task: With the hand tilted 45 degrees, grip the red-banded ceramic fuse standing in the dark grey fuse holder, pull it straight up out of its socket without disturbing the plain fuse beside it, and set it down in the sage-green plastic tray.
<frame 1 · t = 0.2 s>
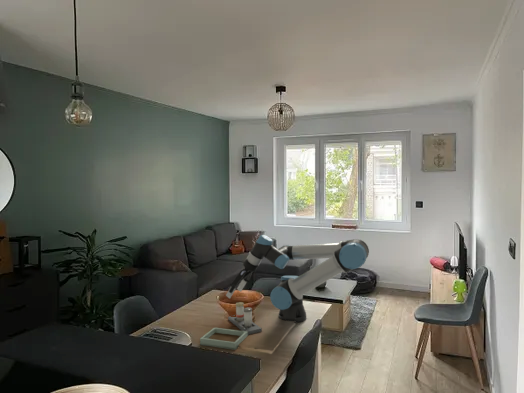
hand: (233, 293, 210), 15 cm above the table, tool tilted 35°, fingers open, 13 cm apart
marked fuse: (240, 322, 206), point 1 cm above the table, touching fuse holder
plain fuse: (248, 328, 197), point 1 cm above the table, touching fuse holder
tray: (224, 341, 184), on the table
fuse holder: (244, 327, 201), on the table
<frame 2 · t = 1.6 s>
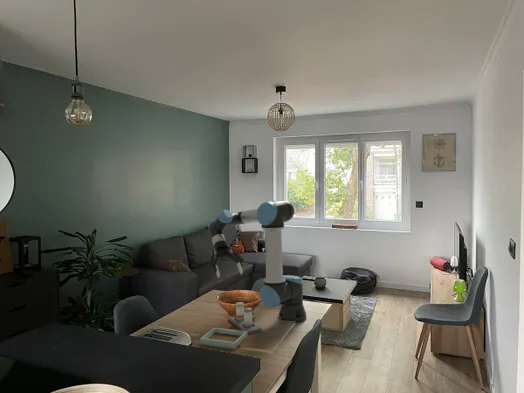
hand: (230, 274, 214), 24 cm above the table, tool tilted 45°, fingers open, 13 cm apart
nothing on the table moved.
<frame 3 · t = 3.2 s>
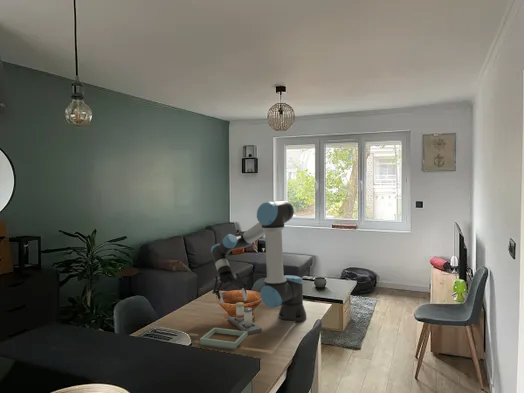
hand: (234, 301, 210), 11 cm above the table, tool tilted 45°, fingers open, 13 cm apart
nothing on the table moved.
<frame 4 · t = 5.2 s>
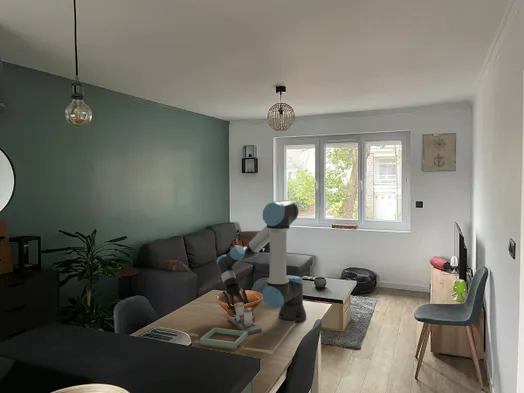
hand: (243, 319, 202), 4 cm above the table, tool tilted 45°, fingers closed on fuse holder, marked fuse, 4 cm apart
marked fuse: (240, 322, 206), point 1 cm above the table, touching fuse holder, gripper
everything else where it was.
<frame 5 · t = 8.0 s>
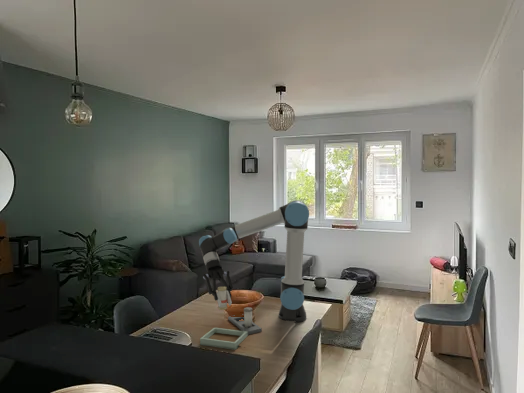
hand: (225, 304, 180), 18 cm above the table, tool tilted 45°, fingers closed on marked fuse, 4 cm apart
marked fuse: (222, 308, 184), point 16 cm above the table, touching gripper
everything else where it was.
when the fingers open (5 cm above the table, at t = 10.8 s): marked fuse drops 1 cm, resting on tray.
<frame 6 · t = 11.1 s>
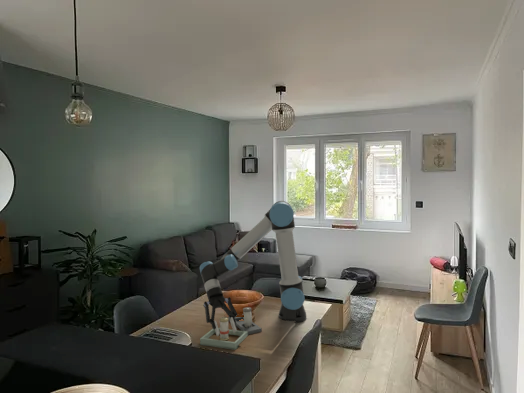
hand: (226, 333, 181), 5 cm above the table, tool tilted 45°, fingers open, 8 cm apart
marked fuse: (224, 339, 184), point 1 cm above the table, touching tray
everything else where it was.
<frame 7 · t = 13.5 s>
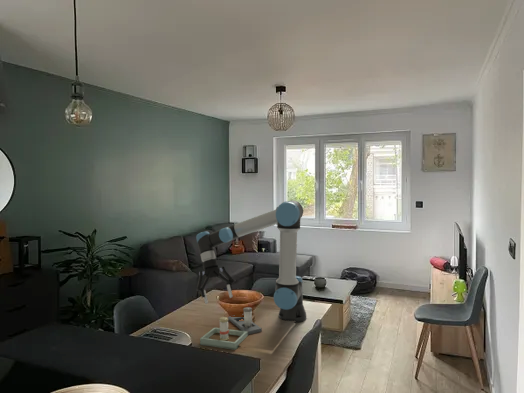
hand: (219, 300, 199), 15 cm above the table, tool tilted 25°, fingers open, 13 cm apart
nothing on the table moved.
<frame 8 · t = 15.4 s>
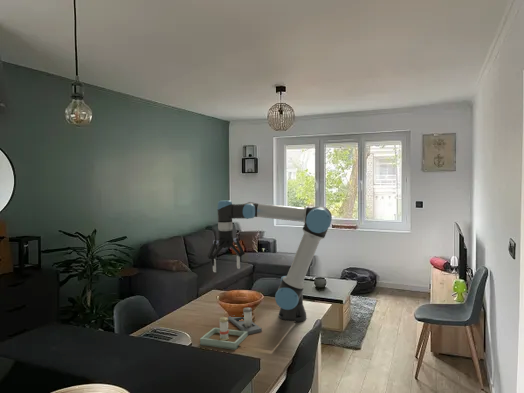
hand: (226, 270, 205), 29 cm above the table, tool pointing down, fingers open, 13 cm apart
nothing on the table moved.
at the end: marked fuse inside the target area on the tray (0.1 cm from its centre), point 0.8 cm above the tray's base; plain fuse moved 0.1 cm from its start; the gripper is holding nothing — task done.
